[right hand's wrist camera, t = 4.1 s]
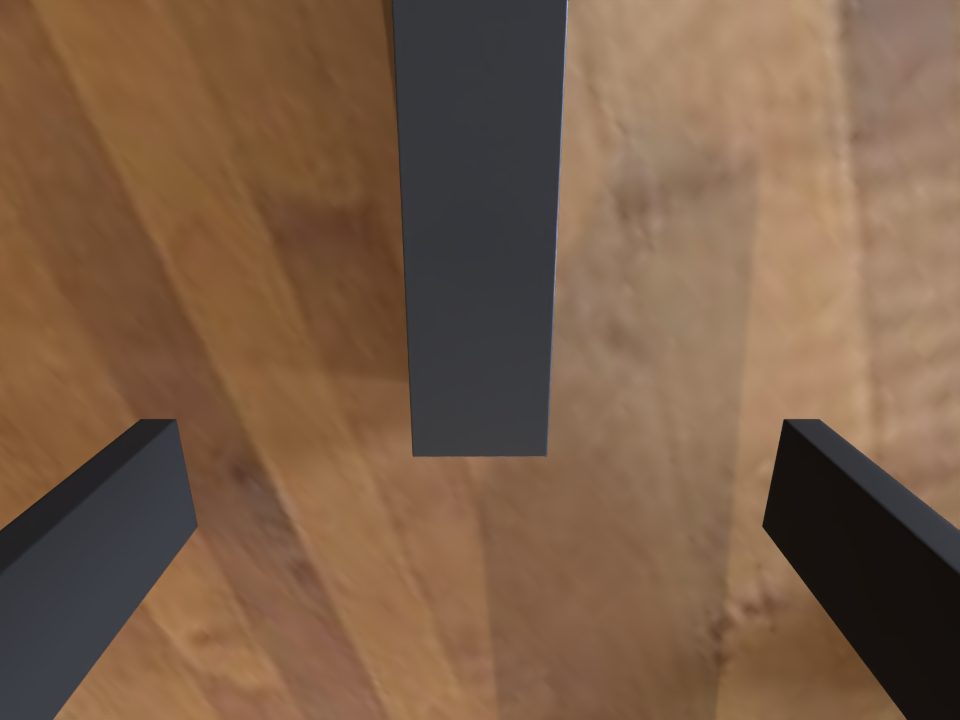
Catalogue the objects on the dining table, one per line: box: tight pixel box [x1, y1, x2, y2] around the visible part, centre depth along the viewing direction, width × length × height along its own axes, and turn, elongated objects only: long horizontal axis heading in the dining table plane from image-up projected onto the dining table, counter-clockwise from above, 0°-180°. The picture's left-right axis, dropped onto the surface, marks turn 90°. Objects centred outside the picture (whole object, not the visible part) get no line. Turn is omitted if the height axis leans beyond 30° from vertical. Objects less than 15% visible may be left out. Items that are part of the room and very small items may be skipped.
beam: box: [392, 0, 568, 457], centre depth 19 cm, size 30×5×7 cm, turn 0°
